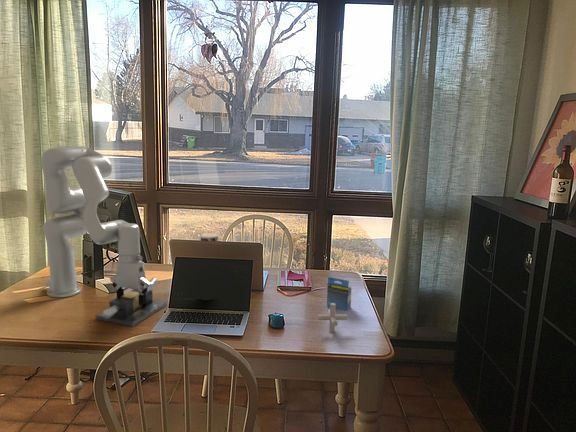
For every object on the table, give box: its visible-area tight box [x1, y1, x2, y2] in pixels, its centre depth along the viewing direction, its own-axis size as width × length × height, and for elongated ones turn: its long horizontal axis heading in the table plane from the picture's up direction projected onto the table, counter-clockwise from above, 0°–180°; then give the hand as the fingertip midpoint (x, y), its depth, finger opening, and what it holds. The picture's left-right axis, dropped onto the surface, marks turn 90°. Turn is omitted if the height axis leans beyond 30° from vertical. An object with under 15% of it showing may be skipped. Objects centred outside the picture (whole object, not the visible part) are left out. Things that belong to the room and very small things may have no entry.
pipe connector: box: [317, 303, 348, 333], centre depth 163 cm, size 10×10×10 cm
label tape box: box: [326, 276, 352, 311], centre depth 184 cm, size 9×4×12 cm, turn 62°
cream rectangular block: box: [121, 290, 142, 313], centre depth 175 cm, size 4×6×7 cm
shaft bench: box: [95, 277, 167, 327], centre depth 175 cm, size 16×29×9 cm, turn 160°
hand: (131, 302), depth 175 cm, fingers open, 9 cm apart
